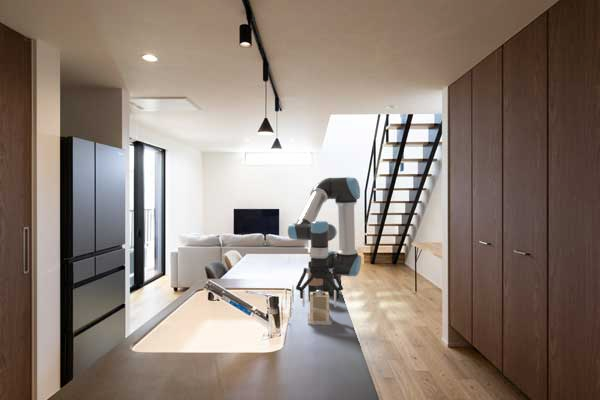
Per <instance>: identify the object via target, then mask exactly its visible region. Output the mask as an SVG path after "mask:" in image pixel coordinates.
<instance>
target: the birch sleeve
mask: <svg viewBox="0 0 600 400" xmlns="http://www.w3.org/2000/svg"><path fill="white" fill-rule="evenodd" d="M309 314H310V320H329V314H330V295H329V294H328V292H323V296H316V292H310V302H309Z"/></svg>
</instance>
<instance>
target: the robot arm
mask: <svg viewBox="0 0 600 400" xmlns="http://www.w3.org/2000/svg"><path fill="white" fill-rule="evenodd" d="M360 198H361V190H360V185H359V181H358V179H356V177H348V176H347V177H328V178H325V179H323V180H320V181H319V182H317V184H316V185H315V186H314V187H313V188H312V189H311V191H310V197H309V198H308V200H307V203H306V204H305V206H304V209H303V210H302V212H301V213H300V216H299V218H298V219H297V222H296V223H295V222H294V223H290V224H289V225H288V227H287V235H288V237H289V239H290V240H296V241H310V248H311V256H312V257H310V261H311V268H310V269H308V267H303V270H302V271H303V272H302V274H301V276H300V278H299V281H298V282H297V284H296V285H295V290H296V291H299V298H300V299H302V307H303V308H305V300H306V299H305V292H306V291H305V289H306V288H307V287H308V284H309V283H310V282H311V281H312V280H313V278H316V279H319V278H320V279H323V292H328V294H329V296H333V307H334V308H336V307H337V300H338V299H339V298H340V296H339V295H340V291H343V290H344V288H343V285H342V283H341V282H340V279H339V277H338V276H345V277H357V276H358V275H359V274H360V270H361V266H362V256H361V255H360V254H359V251H358V250H357V249H356V246H355V245H356V244H355V240H356V239H355V238H356V237H355V234H356V233H355V231H356V229H355V228H356V227H355V205H356V204H358V203H357V202H358V201H357V200H359V199H360ZM328 200H334V201H335V202H334V203H335V204H336V205H337V209H338V211H337V213H338V244H339V245H338V247H339V248H337V251H336V253H335V251H334V250H329V242H331V241H333V239H335V238H336V236H337V228H336V227H335V225H333V224H331V223H330V224H329V223H328V221H327V220H326V221H325V220H324V221H323V220H316V219H317V217H318V216H319V213H320V211H321V209H322V206H323V204H324V203H326V202H327V201H328ZM309 271H310V273H311V274H312V275H311V276H310V277H309V278H308V277H307V280H306V281H305V282H304V279H305V277H306V275H307V274H308V272H309ZM335 281H336V282H335ZM303 282H304V283H303ZM302 283H303V284H302ZM336 283H337V285H338V286H337V285H336Z"/></svg>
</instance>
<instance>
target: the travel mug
mask: <svg viewBox="0 0 600 400" xmlns="http://www.w3.org/2000/svg"><path fill="white" fill-rule="evenodd" d="M307 268H308V269H310V268H311V260H310V261H308V267H307ZM311 275H312V274H311V273H310V271H309V272H308V273H307V279H308V278H309V277H310V276H311ZM307 290H308V292H307V293H308V302H309V303H310V292H316V290H323V279H320V278H319V279H316V278H313V280H312V281H311V282H310V283H309V284H308V285H307Z"/></svg>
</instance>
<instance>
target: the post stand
mask: <svg viewBox="0 0 600 400" xmlns="http://www.w3.org/2000/svg"><path fill="white" fill-rule="evenodd" d="M316 296H323V290H316ZM332 322H333V321H332V316H331V313H329V320H310V313H307V325H309V326H310V325H312V326H314V325H317V326H318V325H319V326H320V325H322V326H326V325H327V326H329V325H330V326H331V325H332V324H333V323H332Z"/></svg>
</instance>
